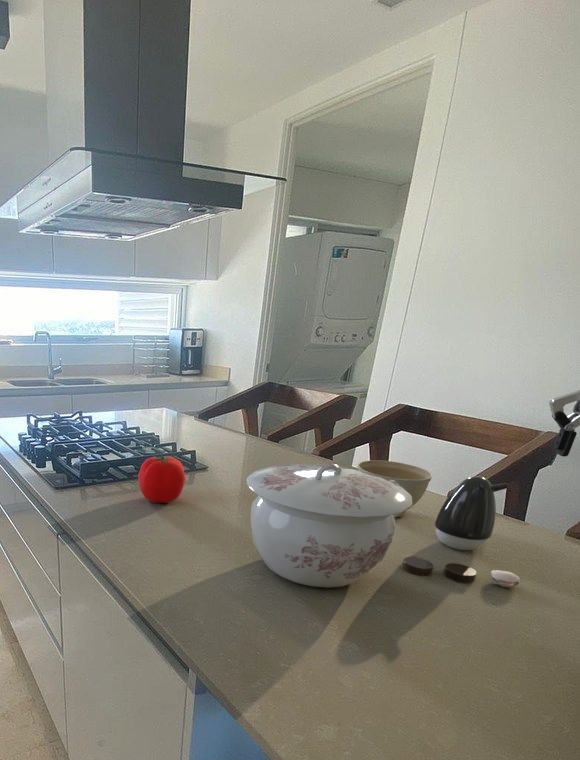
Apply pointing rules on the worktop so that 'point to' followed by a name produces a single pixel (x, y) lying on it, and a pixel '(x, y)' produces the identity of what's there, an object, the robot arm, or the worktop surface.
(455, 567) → the middle disc
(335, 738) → the worktop surface
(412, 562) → the far disc
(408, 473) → the planter bowl
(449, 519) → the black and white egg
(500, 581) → the macaroon
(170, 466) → the tomato
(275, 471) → the chamber pot
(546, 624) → the worktop surface
